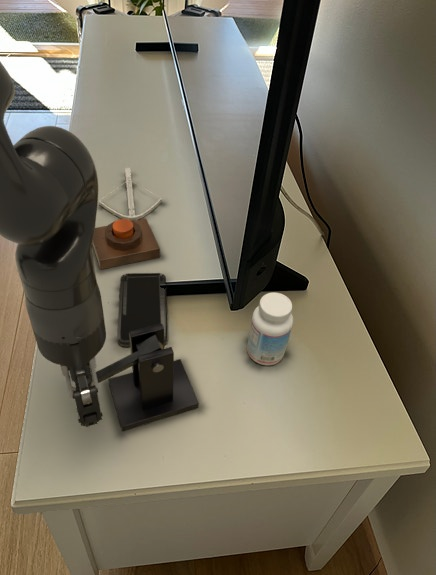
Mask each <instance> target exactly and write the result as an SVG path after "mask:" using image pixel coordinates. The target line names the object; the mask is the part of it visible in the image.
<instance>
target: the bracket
mask: <svg viewBox="0 0 436 575" xmlns="http://www.w3.org/2000/svg"><path fill="white" fill-rule="evenodd" d="M154 335H156V336H157V337H158V339H159V340H160V341H161V343H162V345H163V347H164V349H162V350H158V351H154V352H150V353H147V354H143V355H139V356H138V364H136V365H134V366H132V367H131V368H132V372H129V373H125V374H121V375H119V376H113V377H110V378H108V379H107V381H108V386H109V389H110V393H111V396H112V400H113V403H114V407H115V410H116V414H117V417H118V420H119V424H120V427H121V431H122V432H125V431H127V430H131V429H134V428H137V427H140V426H143V425H146V424H150V423H153V422H156V421H159V420H162V419H163V420H164V419H166V418H169V417H172V416H175V415H179V414H183V413H185V412H188V411H191V410H194V409H195V410H196V409H198V408H199V401H198V398H197V396H196V394H195V391H194V389H193V386H192V383H191V381H190V378H189V377H188V373H187V371H186V369H185V366H184V364H183V361H182V359H180V358H179V359H176V360H175V352H174V349H173V347H172V346H170V347H167V348H165V345H164V327H163V324H162V323H161V324H157V325H153V326H149V327H145V328H141V329H137V330H133V331H129V336H130V347H129V348H130V355H131V354H133V353H135V352H137V351H138V349H137V346H136V344H138V343H140V342H142V341H144V340H146V339H148V338H150V337H152V336H154Z"/></svg>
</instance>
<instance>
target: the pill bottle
mask: <svg viewBox="0 0 436 575" xmlns="http://www.w3.org/2000/svg"><path fill="white" fill-rule="evenodd" d="M292 309H293V304H292V301H291V299H290V298H289V297H288V296H286V295H285V294H283V293H280V292H268V293H265V294H264V295H263V296H261V298H260V300H259V304H258V305H257V307H255V309H254V310H253V313H252V316H251V322H250V327H249V333H248V339H247V345H246V351H247V354H248V356H249V358H250V359H251V360H252V361H254V362H255V363H257V364H259V365H261V366H262V365H263V366H273V365H276V364H278V363H279V362H281V361H282V359H283V358H284V356H285V353H286V350H287V346H288V343H289V340H290V335H291V332H292V329H293V325H294V317H293V314H292V311H293V310H292Z"/></svg>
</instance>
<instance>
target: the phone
mask: <svg viewBox="0 0 436 575" xmlns="http://www.w3.org/2000/svg"><path fill="white" fill-rule="evenodd" d="M160 284H166V285H167V276H166V275H165V274H164V273H161V272H143V273H142V272H141V273H140V272H137V273H136V272H135V273H134V272H133V273H124V274H122V275H121V276H120V281H119V295H118V298H119V302H118V316H117V318H118V319H117V333H116V334H117V335H116V338H117V344H118V345H119V346H120V347H123V348H130V336H129V331H133V330H137V329H141V328H145V327H149V326H153V325H157V324H161V323H162V324H163V327H164V346H165V345H166V344H167V343H168V341H169V340H168V339H169V333H168V303H167V300H168V298H167V297H168V296H167V287H166V288H165V289H164V288H161V287H160Z"/></svg>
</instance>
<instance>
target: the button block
mask: <svg viewBox="0 0 436 575" xmlns="http://www.w3.org/2000/svg"><path fill="white" fill-rule="evenodd" d="M115 221H116V220H114V221H112V222H111V223H109V224H107V225H103V226H97V227H95V231H94V236H93V242H92V249H93V250H94V254H95V257H96V259H97V263H98V266H99V269H100V270H105V269H110V268H113V267H114V268H115V267H120V266H125V265H129V264H135V263H138V262H139V263H140V262H144V261H149V260H153V259H158V258H161V248H160V245H159V244H158V241H157V239H156V237H155V235H154V233H153V230H152V228H151V226H150V224H149V222H148V219H147V218H140V219H138V220H136V221H135V220H130V221H131V222H132V223H133V232H134V233H133V235H132V236H131V237H130V238H126V239H120V238H117V237H115V236H114V234H113V223H114V222H115Z"/></svg>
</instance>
